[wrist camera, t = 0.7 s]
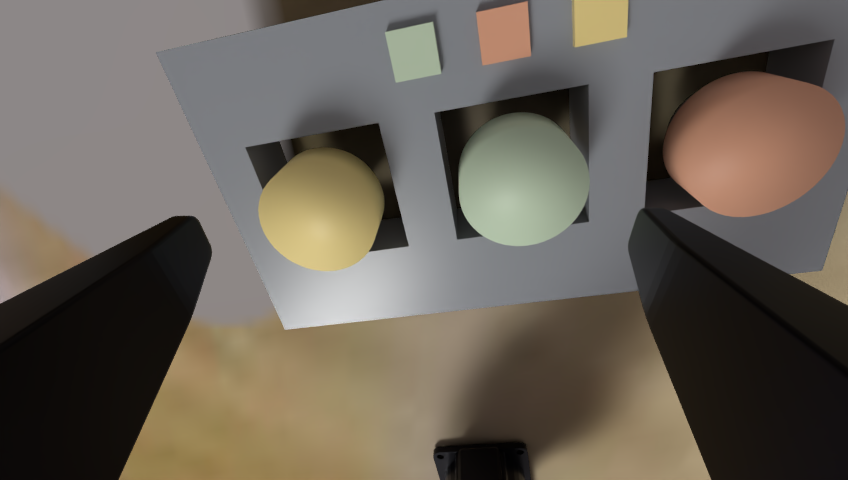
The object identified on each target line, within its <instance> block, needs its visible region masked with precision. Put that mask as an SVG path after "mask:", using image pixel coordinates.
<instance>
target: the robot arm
mask: <svg viewBox="0 0 848 480" xmlns="http://www.w3.org/2000/svg"><path fill="white" fill-rule="evenodd" d="M628 253H629V257H630V260H631V264H632V268H633V272H634V275H635V279H636V283H637V287H638V291H639V294H640V298H641V302H642V306H643V309H644V312H645V316H646V319H647V321H648V324H649V327H650V329H651V332H652V334H653V337H654V339H655V342H656V344H657V346H658V349H659V351H660V354H661V356H662V359H663V361H664V364H665V366H666V369H667V371H668V374H669V376H670V379H671V381H672V384H673V386H674V389H675V391H676V393H677V396H678V398H679V401H680V403H681V406H682V408H683V411H684V413H685V416H686V418H687V421H688V423H689V426H690V428H691V431H692V433H693V436H694V438H695V440H696V443H697V445H698V448H699V450H700V453H701V455H702V458H703V460H704V463H705V465H706V468H707V470H708V473H709V475H710V478H711V480H848V305H846V304H844V303H842V302H840V301H838V300H837V299H835V298H833V297H831V296H829V295H827V294H825V293H823V292H822V291H820V290H818V289H816V288H814V287H812V286H810V285H808V284H806V283H805V282H803V281H801V280H799V279H797V278H795V277H793V276H791V275H790V274H788V273H786V272H784V271H782V270H780V269H778V268H776V267H775V266H773V265H771V264H769V263H767V262H765V261H763V260H761V259H760V258H758V257H756V256H754V255H752V254H750V253H748V252H746V251H745V250H743V249H741V248H739V247H737V246H735V245H733V244H731V243H730V242H728V241H726V240H724V239H722V238H720V237H718V236H716V235H715V234H713V233H711V232H709V231H707V230H705V229H703V228H701V227H700V226H698V225H696V224H694V223H692V222H690V221H688V220H686V219H685V218H683V217H681V216H679V215H677V214H675V213H673V212H671V211H670V210H668V209H666V208H663V207H650V208H642V209H641V210H639V212H638V214H637V216H636V219H635V222H634V225H633V228H632V231H631V234H630V237H629V241H628ZM211 256H212V249H211V245H210V243H209V241H208V239H207V237H206V235H205V232H204V231H203V228H202V226H201V224H200V222H199V220H198V219H197V218H196V217H194V216H174V217H171V218H169V219H167V220H165V221H163V222H161V223H159V224H157V225H155V226H153V227H151V228H149V229H148V230H145V231H143V232H141V233H139V234H137V235H135V236H133V237H131V238H129V239H127V240H125V241H123V242H121V243H120V244H118V245H116V246H114V247H112V248H110V249H108V250H106V251H104V252H102V253H100V254H98V255H96V256H94V257H92V258H90V259H88V260H86V261H84V262H82V263H80V264H78V265H76V266H74V267H72V268H70V269H68V270H66V271H64V272H62V273H60V274H58V275H56V276H54V277H52V278H50V279H48V280H46V281H44V282H42V283H40V284H38V285H36V286H34V287H32V288H30V289H28V290H26V291H25V292H23V293H21V294H19V295H17V296H15V297H13V298H11V299H9V300H7V301H5V302H3V303H1V304H0V480H119V478H120V475H121V473H122V471H123V469H124V467H125V464H126V462H127V460H128V458H129V456H130V453H131V451H132V449H133V447H134V445H135V442H136V440H137V438H138V436H139V433H140V431H141V429H142V427H143V425H144V422H145V420H146V418H147V416H148V414H149V411H150V409H151V407H152V405H153V403H154V400H155V398H156V396H157V394H158V391H159V389H160V387H161V385H162V383H163V380H164V378H165V376H166V374H167V372H168V369H169V367H170V365H171V363H172V361H173V358H174V356H175V354H176V352H177V350H178V347H179V345H180V343H181V341H182V338H183V336H184V334H185V332H186V330H187V327H188V325H189V323H190V320H191V318H192V315H193V312H194V309H195V306H196V303H197V300H198V297H199V294H200V291H201V288H202V285H203V282H204V279H205V275H206V272H207V269H208V266H209V263H210V260H211ZM434 461H435V464H436V467H437V471H438V474H439V477H440V480H531V477H530V468H529V460H528V452H527V446H526V444H524V443H520V442H517V443H501V444H484V445H468V446H451V447H438V448H435V449H434Z"/></svg>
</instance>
